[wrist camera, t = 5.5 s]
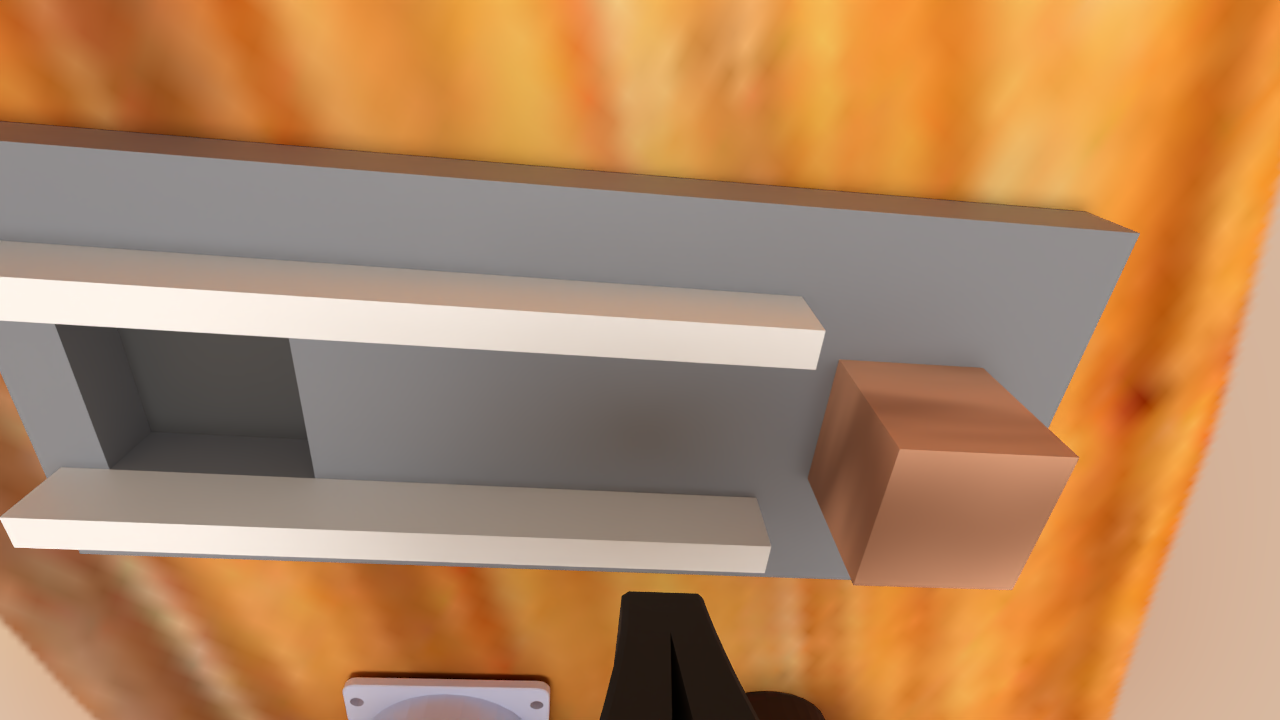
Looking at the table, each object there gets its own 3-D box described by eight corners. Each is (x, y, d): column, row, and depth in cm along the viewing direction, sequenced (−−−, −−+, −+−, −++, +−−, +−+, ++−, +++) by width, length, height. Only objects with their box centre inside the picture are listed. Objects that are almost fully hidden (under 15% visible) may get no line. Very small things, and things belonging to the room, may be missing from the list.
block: (937, 484, 19) (1012, 590, 15) (807, 478, 19) (853, 585, 15) (982, 367, 17) (1079, 457, 14) (839, 359, 17) (899, 449, 13)
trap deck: (946, 540, 23) (974, 584, 21) (125, 508, 21) (80, 553, 19) (1085, 211, 17) (1140, 233, 15) (-22, 119, 15) (-105, 132, 13)
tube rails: (750, 523, 19) (764, 573, 18) (73, 495, 18) (14, 547, 16) (802, 296, 16) (825, 330, 14) (-36, 238, 14) (-125, 268, 13)
